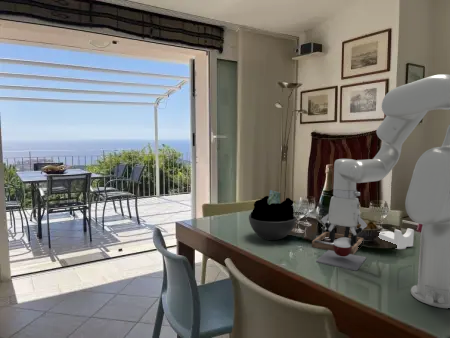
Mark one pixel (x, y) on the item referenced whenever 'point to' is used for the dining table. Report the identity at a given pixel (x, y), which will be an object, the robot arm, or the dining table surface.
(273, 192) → the pale blue faceted lump
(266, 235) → the bowl of black rocks
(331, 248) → the tray
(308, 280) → the dining table surface
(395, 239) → the bracket
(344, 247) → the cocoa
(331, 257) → the rubber mat
